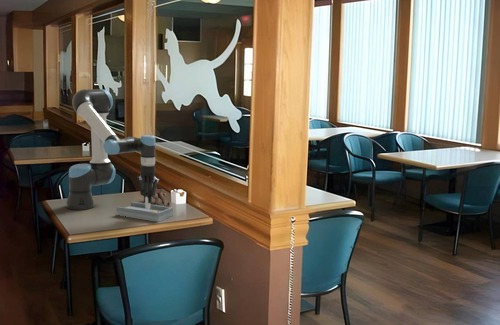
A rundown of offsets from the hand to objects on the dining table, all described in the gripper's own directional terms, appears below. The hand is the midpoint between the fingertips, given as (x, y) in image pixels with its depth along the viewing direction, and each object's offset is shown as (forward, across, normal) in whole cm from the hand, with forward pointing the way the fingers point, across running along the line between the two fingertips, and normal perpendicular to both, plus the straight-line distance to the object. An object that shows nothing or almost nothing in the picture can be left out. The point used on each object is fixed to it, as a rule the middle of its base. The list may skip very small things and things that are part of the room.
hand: (147, 208), depth 309 cm
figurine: (+4, -9, +24) cm, 26 cm away
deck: (+4, -2, 0) cm, 4 cm away
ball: (+2, +4, 0) cm, 5 cm away
